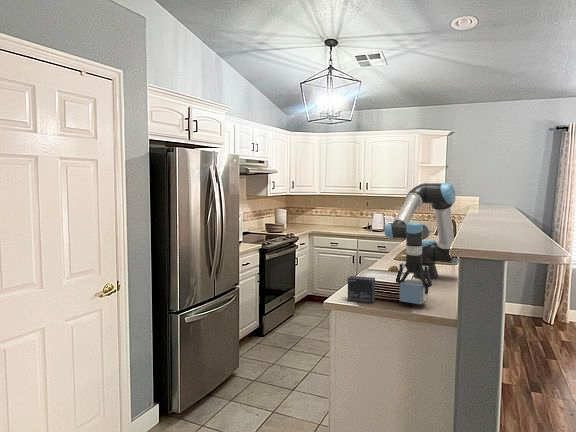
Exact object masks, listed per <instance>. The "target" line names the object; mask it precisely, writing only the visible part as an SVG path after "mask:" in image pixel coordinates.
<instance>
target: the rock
mask: <svg viewBox="0 0 576 432" xmlns="http://www.w3.org/2000/svg"><path fill="white" fill-rule="evenodd" d="M387 271H391V272H399V267H398V266H397V265H392V266H390V267H388V270H387Z"/></svg>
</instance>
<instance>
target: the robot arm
mask: <svg viewBox="0 0 576 432" xmlns="http://www.w3.org/2000/svg"><path fill="white" fill-rule="evenodd" d="M455 202H456V190H455V187H454V185H453V184H451V183H449V182H448V183H445V182H441V183H439V182H437V183H435V182H434V183H426V182H425V183H420V184H418V185H417V186H415V187H413V188H412V189H410V191H409V192H407V194H406V195H405V201H404V203H403V204H402V206H401V208H400V210H399V211H398V213H397V215H396V217H395V218H394V220H393V222H392V223H386V224H385V225H384V231H383V232H384V236H385V238H391V239H401V240H403V239H404V240H406V241H405V243H406V244H405V247H406V248H405V250H406V251H405V253H406V255H405V263H400V264H399V268H398V270H399V272H398V275H397V278H396V282H395V283H397V284H398V290H399V291H400V283H401V282H403V281H405V280H407V277H408V275H409V274H412V275H413V274H414V276H413V278H416V279H420V281H422V283H423V285H424V286H425V287H423V301H424V302H425V301H427V300H426V294H428V295H429V288H431V287H432V286H433V282H432V280H434V279H435V280H436V279H438V278H439V273H438V269H437V266H436V262H439V263H448V264H458V262H459V261H458V259H457V258H450V255H449V250H450V246H451V244H452V242H453V240H454V239H455V236H454V235H455V233H454V226H453V218H452V211H451V210H452V207H453V205H454V204H455ZM423 204H431V208H432V209H433V210H434V212H435V220H436V228H437V235H438V241H436V239H429V240H428V238H429V237H430V235H431V229H430V227H429V226H428V225H426V224H423V223H422V222H416V221H415V222H410V221H412V219H413V216H414V214H415V213H416V211H417V209H418V207H420V206H421V205H423ZM426 239H427V240H426ZM405 268H406V271H405V272H404V269H405ZM403 272H404V274H403ZM402 275H403V276H402ZM400 278H401V280H400Z"/></svg>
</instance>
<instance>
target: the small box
mask: <svg viewBox="0 0 576 432" xmlns="http://www.w3.org/2000/svg"><path fill="white" fill-rule="evenodd" d="M375 300H376V278H375V277H372V276H371V277H370V276H368V277H367V276H357V275H350V276H349V277H347V302H353V303H354V302H355V303H363V304H364V303H365V304H373V303H374V302H375Z"/></svg>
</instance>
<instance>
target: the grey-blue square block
mask: <svg viewBox="0 0 576 432" xmlns="http://www.w3.org/2000/svg"><path fill="white" fill-rule="evenodd" d="M423 287H425V286H424V285H423V283H422V281H421V280H415V279H409V278H406V279H405V280H404V281H403V282H401V283H400V290H399V302H405V303H408V304H409V303H410V304H416V305H421V304H423V303H424V302H425V301H427V300H428V296H427V294H426V300H425V301H423Z"/></svg>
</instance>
